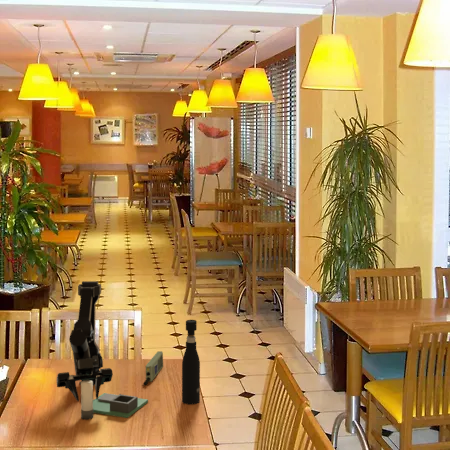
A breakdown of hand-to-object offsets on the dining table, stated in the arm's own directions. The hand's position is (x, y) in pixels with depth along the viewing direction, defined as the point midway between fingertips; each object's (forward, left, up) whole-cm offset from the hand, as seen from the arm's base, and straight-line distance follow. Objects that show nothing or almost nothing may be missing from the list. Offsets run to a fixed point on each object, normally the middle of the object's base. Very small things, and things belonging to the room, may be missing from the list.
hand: (87, 400), depth 259 cm
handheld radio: (+1, +48, -7) cm, 49 cm away
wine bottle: (+26, +28, -7) cm, 39 cm away
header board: (+3, +14, -7) cm, 15 cm away
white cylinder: (-1, +1, -7) cm, 7 cm away
